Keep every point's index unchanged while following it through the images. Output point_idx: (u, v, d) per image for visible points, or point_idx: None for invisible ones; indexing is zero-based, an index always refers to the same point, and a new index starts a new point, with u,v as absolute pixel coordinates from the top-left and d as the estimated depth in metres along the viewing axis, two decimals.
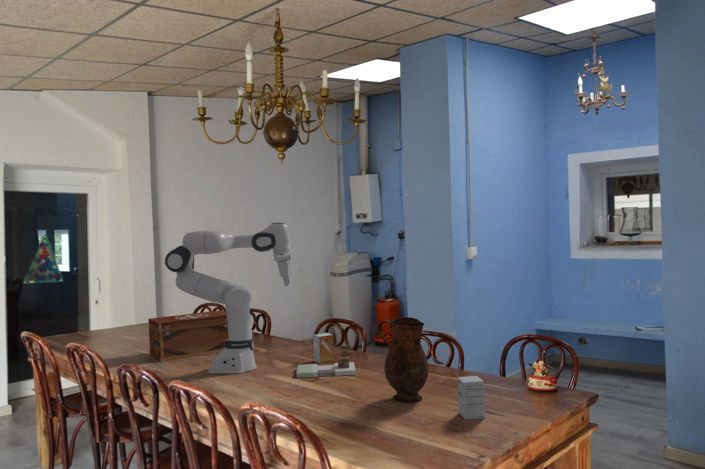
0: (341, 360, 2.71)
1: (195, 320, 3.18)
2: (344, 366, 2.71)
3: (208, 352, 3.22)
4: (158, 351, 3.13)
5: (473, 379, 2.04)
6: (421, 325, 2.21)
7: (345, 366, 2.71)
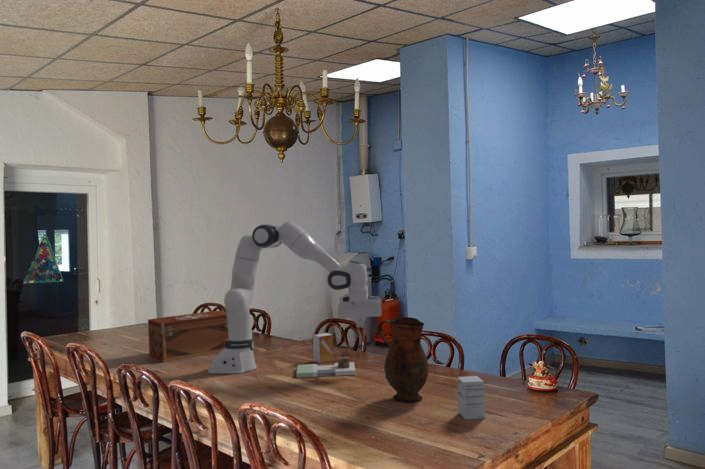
0: (341, 360, 2.71)
1: (197, 320, 3.17)
2: (344, 366, 2.71)
3: (209, 352, 3.22)
4: (160, 352, 3.11)
5: (473, 379, 2.04)
6: (421, 325, 2.21)
7: (345, 366, 2.71)
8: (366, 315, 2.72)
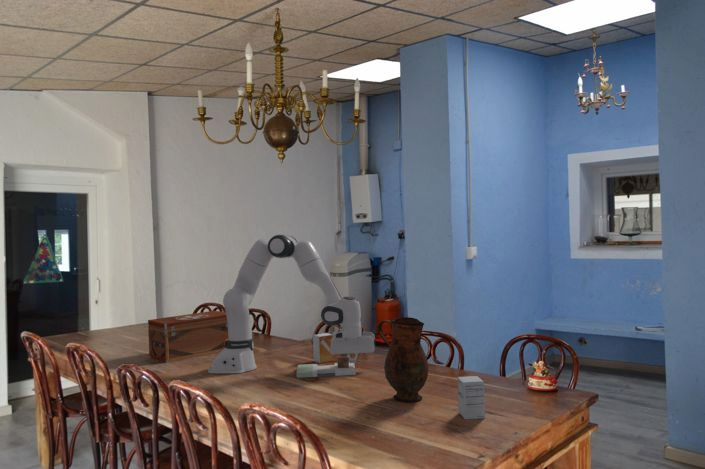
0: (341, 360, 2.71)
1: (198, 320, 3.17)
2: (344, 366, 2.71)
3: (211, 352, 3.22)
4: (162, 352, 3.09)
5: (473, 379, 2.04)
6: (421, 325, 2.21)
7: (345, 366, 2.71)
8: (359, 351, 2.72)
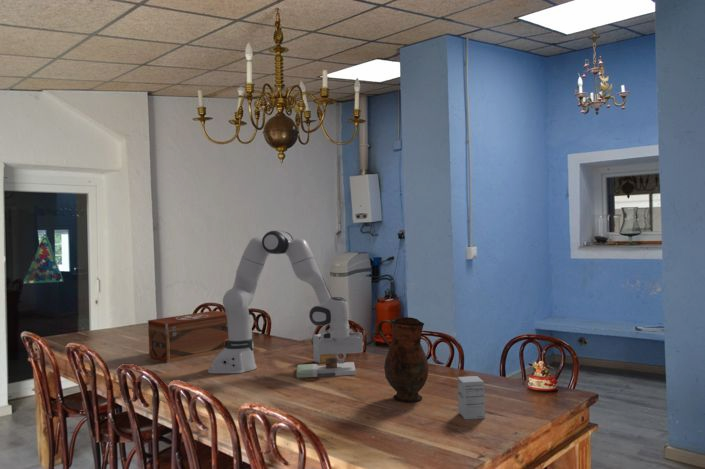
0: (329, 361, 2.71)
1: (199, 320, 3.17)
2: (332, 367, 2.71)
3: (211, 352, 3.22)
4: (163, 352, 3.09)
5: (473, 379, 2.04)
6: (421, 325, 2.21)
7: (333, 367, 2.71)
8: (347, 351, 2.72)
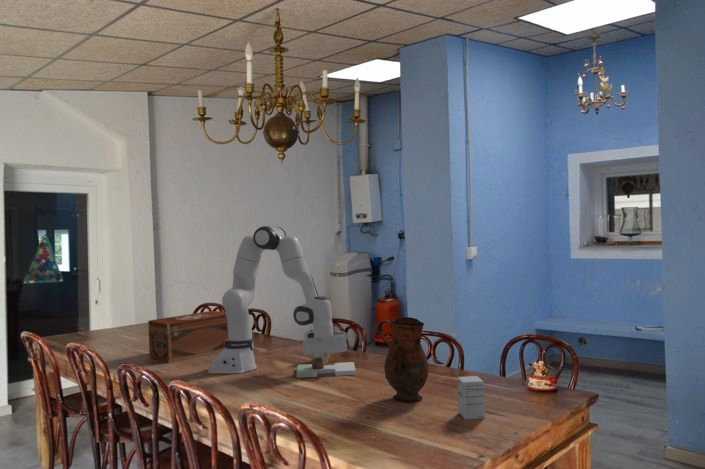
0: (314, 361, 2.70)
1: (200, 320, 3.17)
2: (318, 367, 2.71)
3: (212, 352, 3.22)
4: (164, 353, 3.08)
5: (473, 379, 2.04)
6: (421, 325, 2.21)
7: (319, 366, 2.71)
8: (331, 351, 2.72)
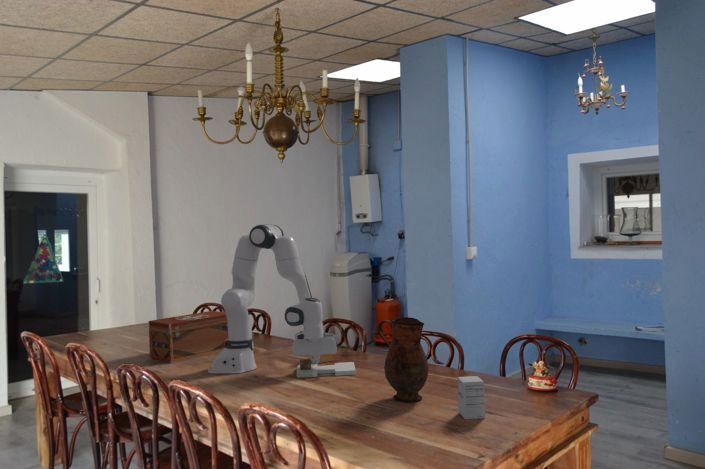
0: (303, 362, 2.70)
1: (201, 320, 3.17)
2: (306, 368, 2.70)
3: (212, 352, 3.22)
4: (165, 353, 3.07)
5: (473, 379, 2.04)
6: (421, 325, 2.21)
7: (307, 368, 2.70)
8: (321, 352, 2.71)
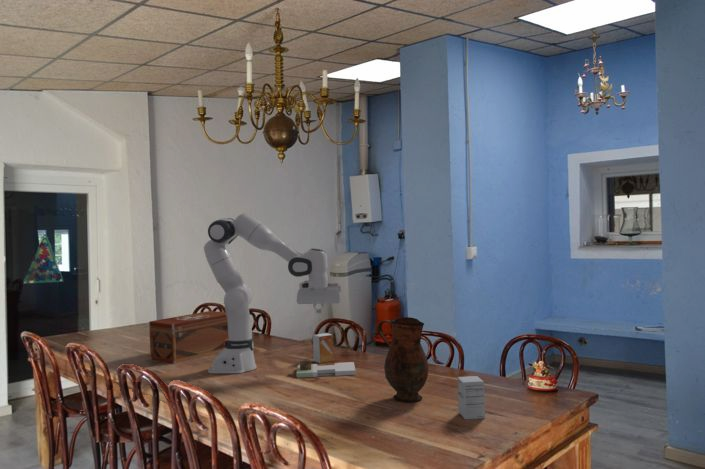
0: (303, 362, 2.70)
1: (202, 320, 3.17)
2: (306, 368, 2.70)
3: (213, 352, 3.22)
4: (167, 353, 3.06)
5: (473, 379, 2.04)
6: (421, 325, 2.21)
7: (307, 368, 2.70)
8: (325, 302, 2.78)
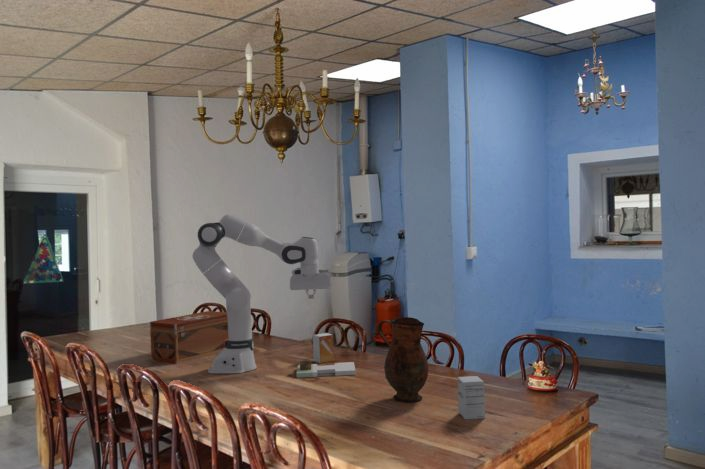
0: (303, 362, 2.70)
1: (204, 320, 3.17)
2: (306, 368, 2.70)
3: (214, 352, 3.22)
4: (169, 354, 3.05)
5: (473, 379, 2.04)
6: (421, 325, 2.21)
7: (307, 368, 2.70)
8: (317, 287, 2.91)
